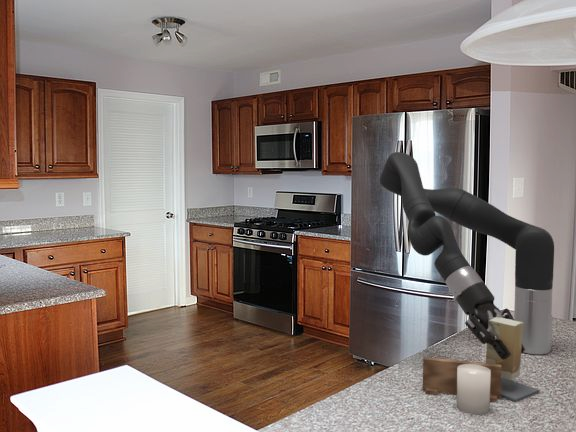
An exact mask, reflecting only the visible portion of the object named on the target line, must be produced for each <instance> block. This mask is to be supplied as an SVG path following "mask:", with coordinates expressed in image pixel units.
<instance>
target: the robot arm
mask: <svg viewBox="0 0 576 432" xmlns="http://www.w3.org/2000/svg"><path fill="white" fill-rule="evenodd" d="M420 173H421V172H420V168H419V164H418V162H417V161H416V159H414V158H413V156H411V155H410V154H407V153H405V152H401V151H396V152H392V153H391V154H389V155H388V157H387V159H386V161H385V164H384V166H383V168H382V171H381V175H380V177H379V183H380V185H381V186H382V187H383V188H384V189H385V190H388V191H389V192H391V193H392V194H395V195H397V196H400V197H401V203H402V207H403V208H402V209H403V212H404V214H405V216H406V218H407V220H408V237H409V238H408V239H409V241H410V245H411V247H412V249H413V250H414V252H416V253H417V254H419V255H421V256H425V257H427V256H430V255H432V254H433V253H435V252H436V251H437V250H438V249H440V248H441V247H442V246H443V247H442V250H441V252H440V253H439V255H438V256H437V257H436V259H435V260H434V267H435V269H436V271H437V272H438V273H439V275H440V276H441V278H442V280H443V281H444V283H445V284H446V285H447V288H448V289H449V292H450V293H451V295H452V296H453V297H454V299H455V300H456V302H457V304H458V305H459V307H460V308H461V309H462V311H463V313H464V314H465V315H466V316H470V317H469V318H468V319H467V320H466V321H465V322H464V324H465V325H466V327H467V328H468V329H469V331H471V333H472V334H473V335H474V336H475V337H476V338H477V339H478V341H480V343H481V344H483V345H485V344H487V343H488V344H489V345H492V346H493V348H494V349H495V351H496V352H497V354H498V355H499V356H500V357H501V359H503V360H504V359H506V358H507V357H509V356H510V352H509V351H508V349H507V348H506V347H505V345H504V344H503V342H502V341H501V340H498V339H499V337H498V334H497V333H496V331H495V327H494V326H493V324H492V323H491V322H489V324H490V327H489V328H488V321H489V320H491V319H493V318H494V317H500V318H505V319H511V320H514V321H519V322H523V335H522V349H521V354H523V353H525V354H529V355H546V354H550V352H551V349H552V336H553V334H552V333H553V315H552V312H553V311H552V310H553V306H552V305H553V285H554V283H553V282H554V265H555V264H554V262H555V241H554V239H553V236H552V235H551V233H550V232H548V230H546V229H545V228H543V227H539V226H536V225H533V224H531V223H528V222H525V221H522V220H520V219H517V218H515V217H513V216H511V215H509V214H507V213H505V212H504V211H503V210H501V209H499V208H497V206H494V205H493V204H491V203H489V202H488V201H486V200H483V198H480V197H478V196H476V194H475V195H474V194H472V193H470V192H468V191H466V190H464V189H462V188H457V187H452V188H451V187H448V188H438V189H436V188H434V189H431V188H430V189H429V188H424V185H423V182H422V178H421V177H422V176H421V174H420ZM436 213H437V214H439V215H436ZM447 219H448V220H450V221H452V222H453V223H456V224H458V225H459V226H462V227H464V228H466V229H468V230H471V231H474V232H477V233H479V234H483V235H485V236H488V237H489V236H490V237H492V238H495V239H496V240H498V241H500V242H502V243H504V244H506V245H508V246H509V247H511V248H512V249H514V250H515V257H514V258H515V261H514V262H515V266H514V279H515V280H514V283H515V284H514V311H513V315H514V316H513V315H512V312H510V309H508V308H504V309H503V310H501V309H500V308H498V307H497V306H496V304H495V303H494V301H495V296H494V294H493V293H492V292H491V290H490V289H489V288H488V286H487V285H486V284H485V282H484V280H482V278H481V276H480V275H479V274H478V273H477V270H475V269H474V268H473V267H472V266H471V264H470V263H469V262H468V260H467V259H466V257H465V256H464V254H463V253H462V251H461V249H460V247H459V245H458V242H457V238H456V236H455V233H454V231H453V228H452V226H451V224H450V222H449V221H448V220H447ZM480 332H481V333H480ZM490 333H491V334H492V335H491V334H490Z"/></svg>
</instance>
